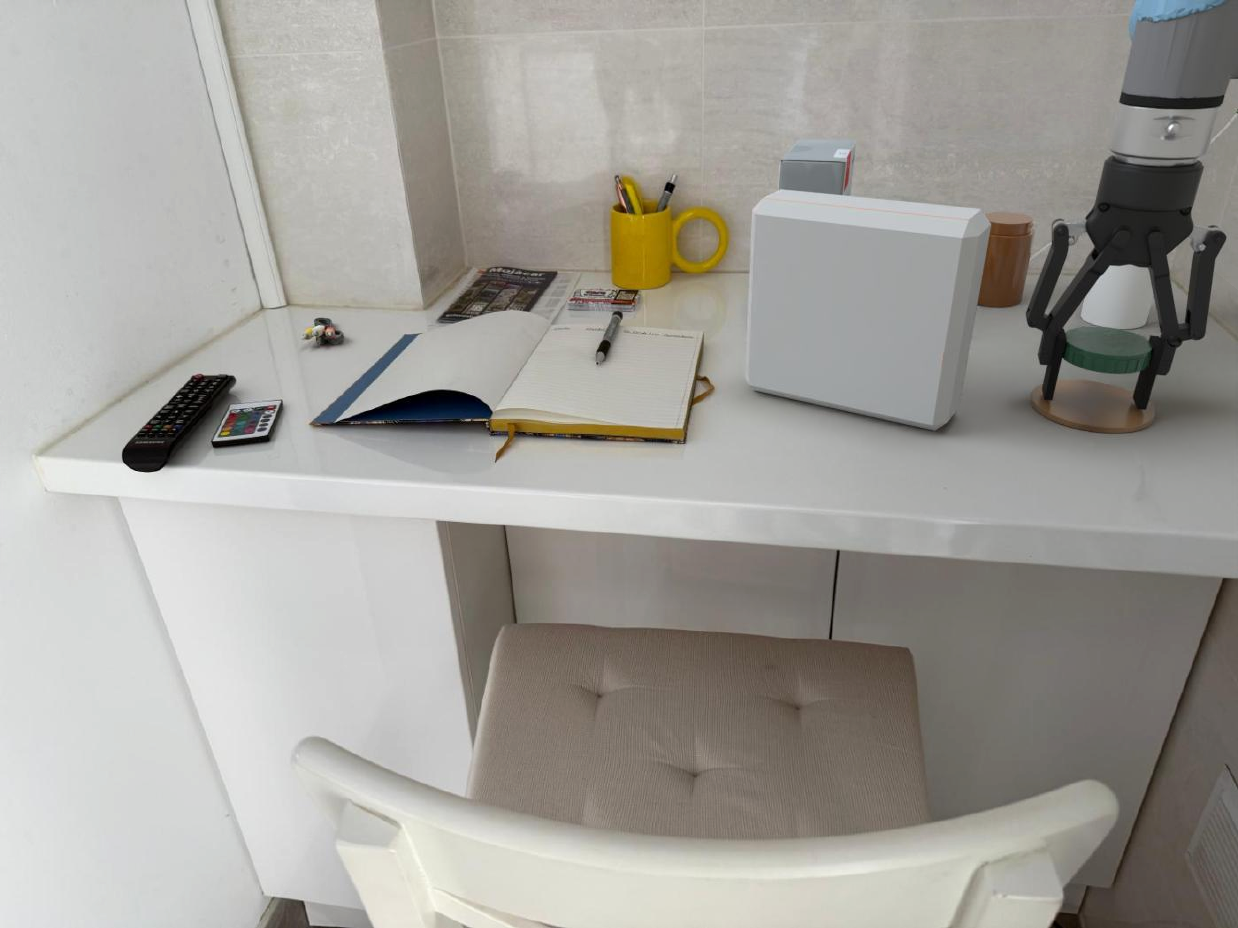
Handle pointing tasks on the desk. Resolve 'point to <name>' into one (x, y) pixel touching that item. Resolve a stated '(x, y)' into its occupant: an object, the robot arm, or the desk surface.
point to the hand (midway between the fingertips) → (1092, 398)
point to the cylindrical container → (1119, 298)
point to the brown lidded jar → (1006, 259)
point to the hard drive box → (818, 166)
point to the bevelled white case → (864, 303)
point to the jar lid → (1107, 350)
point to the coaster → (1093, 407)
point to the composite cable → (323, 332)
